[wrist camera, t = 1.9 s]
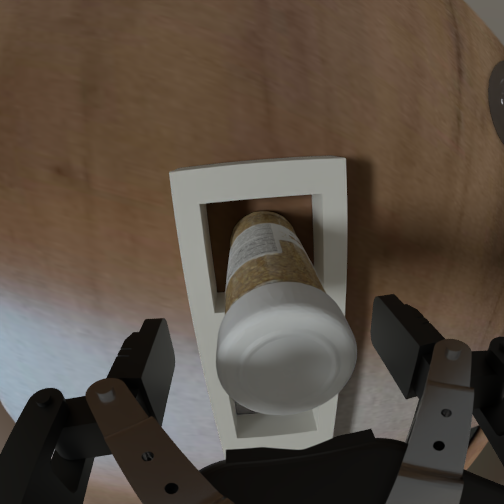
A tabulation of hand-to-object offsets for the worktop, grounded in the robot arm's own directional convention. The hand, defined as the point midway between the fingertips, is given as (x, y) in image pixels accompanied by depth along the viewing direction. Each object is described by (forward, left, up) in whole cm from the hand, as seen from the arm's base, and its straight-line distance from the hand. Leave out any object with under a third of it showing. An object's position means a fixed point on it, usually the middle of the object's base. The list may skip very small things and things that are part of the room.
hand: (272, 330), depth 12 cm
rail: (0, +13, -11) cm, 17 cm away
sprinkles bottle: (0, 0, -11) cm, 11 cm away
